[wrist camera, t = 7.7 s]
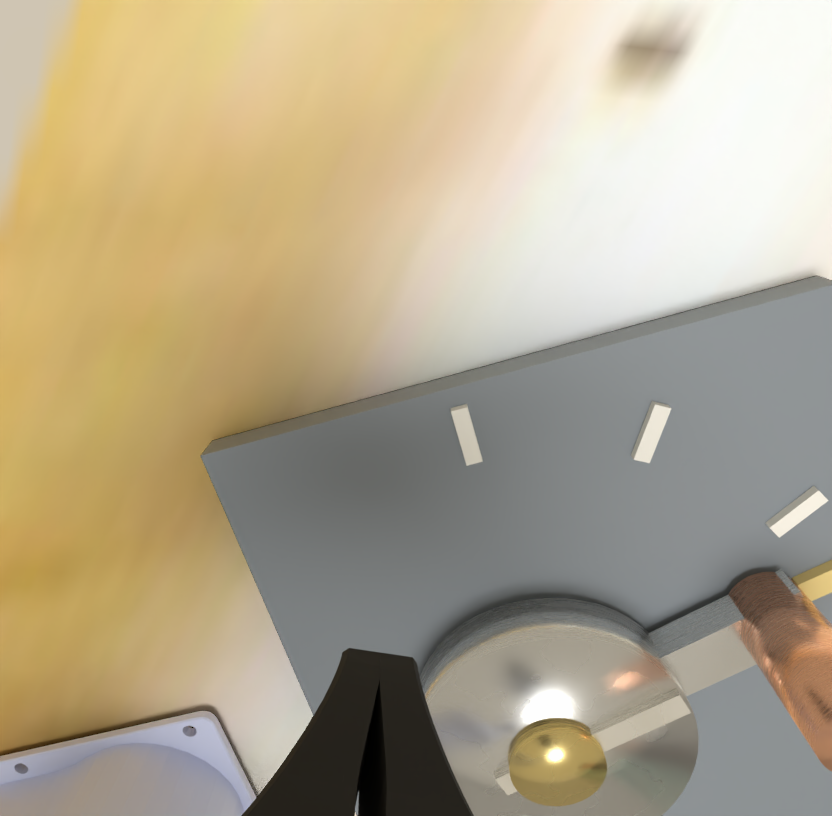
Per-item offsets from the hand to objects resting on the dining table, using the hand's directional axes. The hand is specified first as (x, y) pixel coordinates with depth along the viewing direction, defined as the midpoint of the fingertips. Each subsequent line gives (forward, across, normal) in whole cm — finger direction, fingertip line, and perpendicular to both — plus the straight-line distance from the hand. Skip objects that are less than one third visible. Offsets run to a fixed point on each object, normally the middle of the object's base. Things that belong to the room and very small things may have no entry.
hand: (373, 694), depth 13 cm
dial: (+8, -8, +6) cm, 13 cm away
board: (+10, -7, +6) cm, 13 cm away
